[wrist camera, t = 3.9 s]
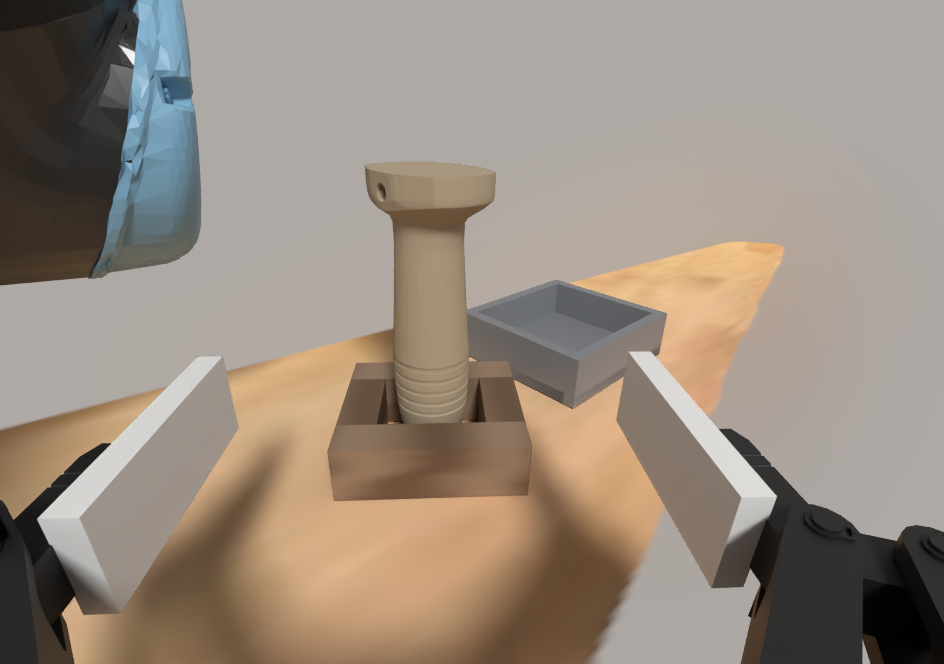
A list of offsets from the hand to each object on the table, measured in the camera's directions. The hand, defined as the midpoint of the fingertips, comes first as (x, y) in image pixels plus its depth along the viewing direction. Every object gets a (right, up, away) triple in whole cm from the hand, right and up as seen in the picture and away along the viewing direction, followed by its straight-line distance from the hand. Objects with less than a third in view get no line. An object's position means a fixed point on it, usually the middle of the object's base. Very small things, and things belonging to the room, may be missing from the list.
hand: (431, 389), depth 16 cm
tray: (+8, 0, +22) cm, 24 cm away
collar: (-1, -4, +12) cm, 12 cm away
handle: (-1, -5, +12) cm, 13 cm away
